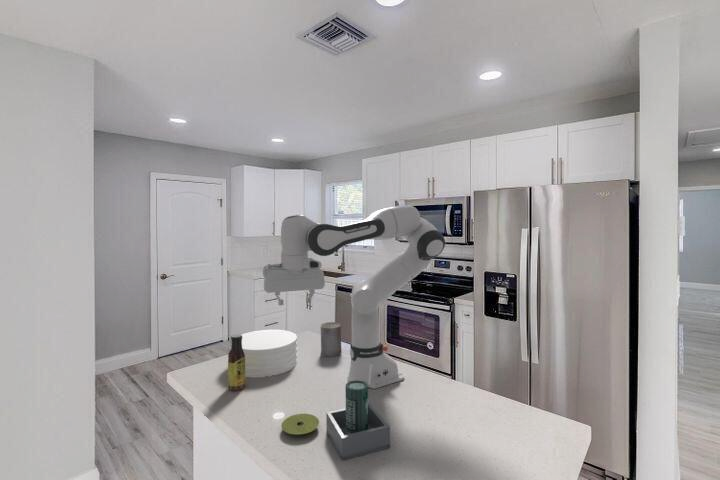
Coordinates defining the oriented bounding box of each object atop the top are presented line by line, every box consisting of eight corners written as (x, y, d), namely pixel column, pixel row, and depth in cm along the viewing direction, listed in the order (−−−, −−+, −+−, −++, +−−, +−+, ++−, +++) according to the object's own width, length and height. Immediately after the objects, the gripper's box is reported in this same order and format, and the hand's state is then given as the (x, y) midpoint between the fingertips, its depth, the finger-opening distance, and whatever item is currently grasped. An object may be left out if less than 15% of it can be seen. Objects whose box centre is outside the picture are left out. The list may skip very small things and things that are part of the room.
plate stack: (309, 364, 158) (309, 338, 158) (250, 384, 139) (250, 355, 138) (276, 348, 178) (276, 326, 178) (221, 363, 159) (220, 338, 159)
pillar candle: (334, 347, 178) (333, 318, 178) (345, 353, 170) (344, 322, 170) (317, 352, 173) (316, 321, 172) (327, 358, 165) (326, 326, 164)
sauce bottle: (240, 392, 132) (239, 339, 131) (224, 390, 133) (223, 338, 132) (249, 384, 138) (248, 333, 137) (234, 383, 139) (233, 333, 138)
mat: (326, 430, 107) (326, 424, 107) (292, 445, 100) (292, 438, 100) (307, 415, 115) (306, 409, 115) (274, 428, 108) (274, 421, 108)
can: (371, 436, 102) (371, 385, 102) (356, 445, 98) (356, 392, 97) (357, 427, 107) (357, 378, 106) (342, 435, 103) (341, 384, 102)
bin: (369, 421, 112) (369, 403, 111) (389, 447, 99) (389, 426, 98) (326, 431, 106) (326, 412, 106) (342, 460, 93) (341, 438, 93)
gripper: (264, 265, 113) (264, 308, 113) (326, 262, 121) (326, 303, 121) (261, 263, 119) (262, 304, 119) (320, 260, 126) (321, 299, 127)
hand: (295, 303), depth 120 cm, fingers open, 8 cm apart
